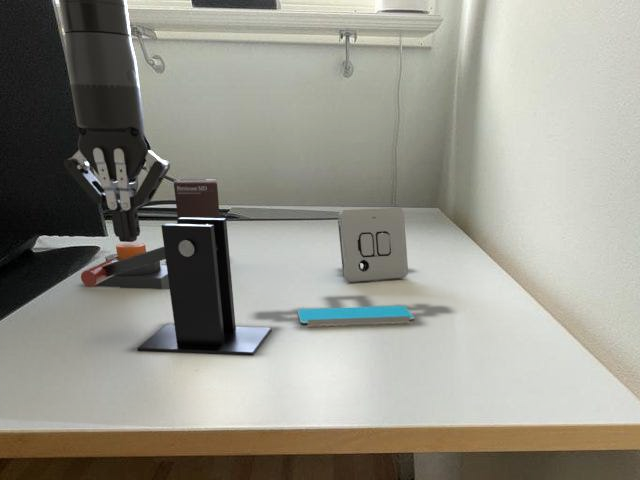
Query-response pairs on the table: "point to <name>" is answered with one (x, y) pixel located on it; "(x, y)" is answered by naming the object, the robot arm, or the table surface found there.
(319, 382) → the table surface
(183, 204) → the box
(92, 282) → the lever
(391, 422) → the table surface
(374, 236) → the electrical switch
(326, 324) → the blue book
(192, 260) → the bracket
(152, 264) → the button box
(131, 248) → the button
